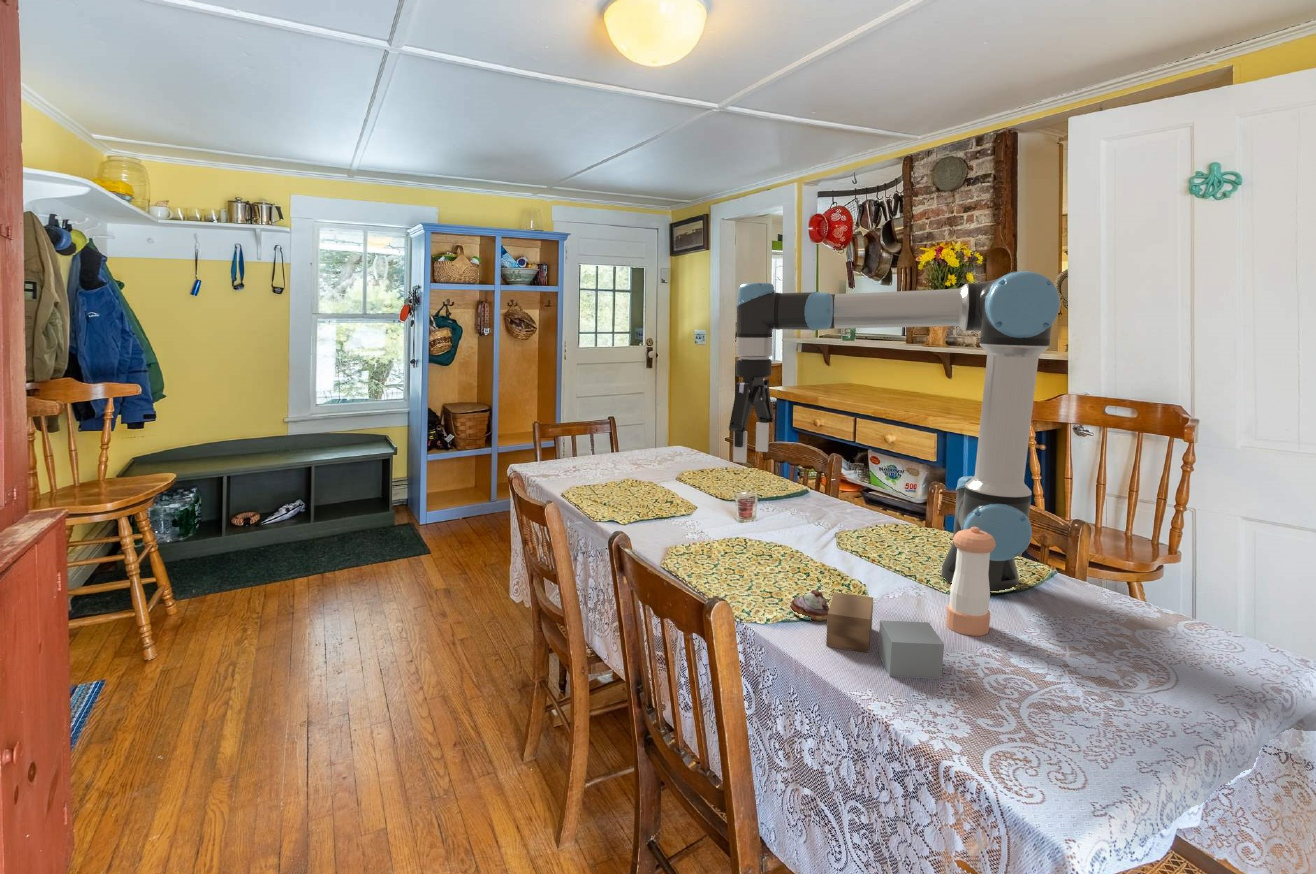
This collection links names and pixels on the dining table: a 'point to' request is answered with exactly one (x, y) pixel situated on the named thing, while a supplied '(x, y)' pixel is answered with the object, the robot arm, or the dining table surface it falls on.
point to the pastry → (811, 606)
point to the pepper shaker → (970, 583)
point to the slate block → (910, 649)
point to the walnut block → (849, 622)
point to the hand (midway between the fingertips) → (751, 456)
